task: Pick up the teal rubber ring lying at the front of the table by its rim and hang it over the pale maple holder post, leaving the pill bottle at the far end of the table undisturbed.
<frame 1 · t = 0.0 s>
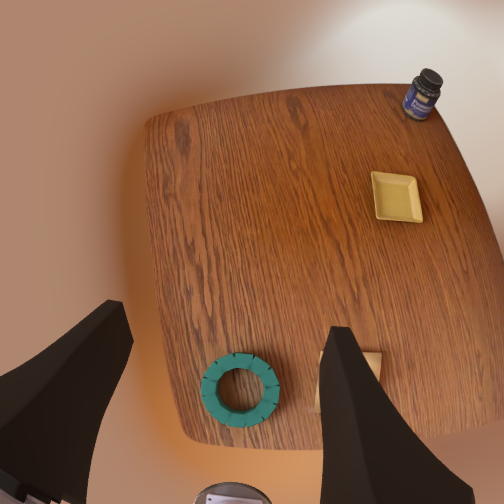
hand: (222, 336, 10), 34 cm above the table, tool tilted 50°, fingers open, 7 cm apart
holder: (347, 382, 41), on the table
pill bottle: (413, 111, 55), on the table
saucer: (392, 202, 49), on the table
ring: (241, 388, 41), on the table
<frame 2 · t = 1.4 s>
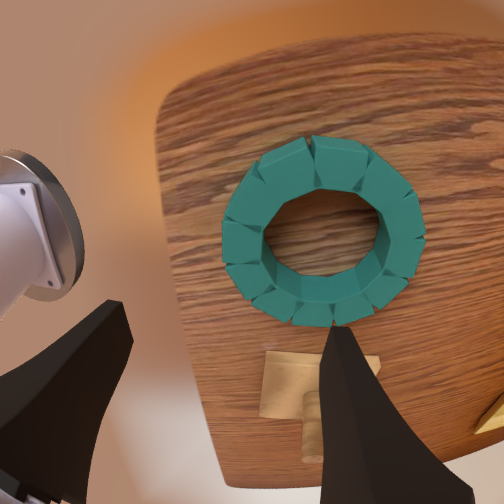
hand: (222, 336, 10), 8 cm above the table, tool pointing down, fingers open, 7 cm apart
holder: (314, 385, 25), on the table
ring: (322, 229, 17), on the table
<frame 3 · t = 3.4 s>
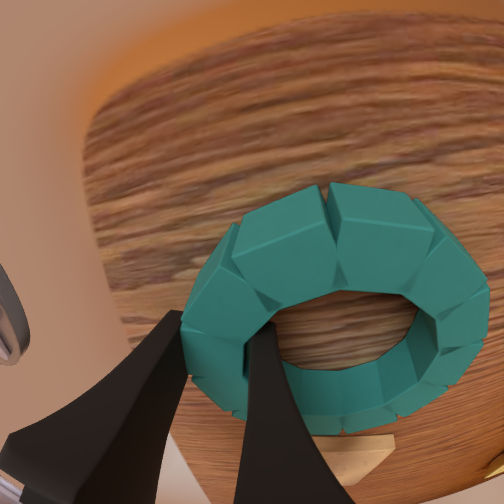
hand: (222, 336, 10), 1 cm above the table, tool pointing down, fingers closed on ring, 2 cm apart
holder: (314, 458, 19), on the table
ring: (337, 318, 11), on the table, touching gripper
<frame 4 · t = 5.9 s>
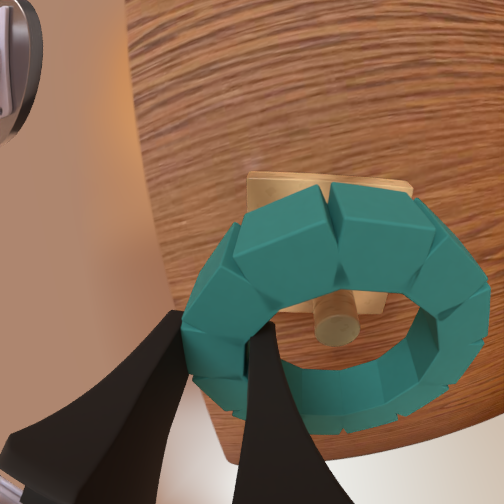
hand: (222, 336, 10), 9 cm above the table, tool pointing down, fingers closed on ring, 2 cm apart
holder: (324, 245, 19), on the table
ring: (337, 318, 11), point 8 cm above the table, touching gripper
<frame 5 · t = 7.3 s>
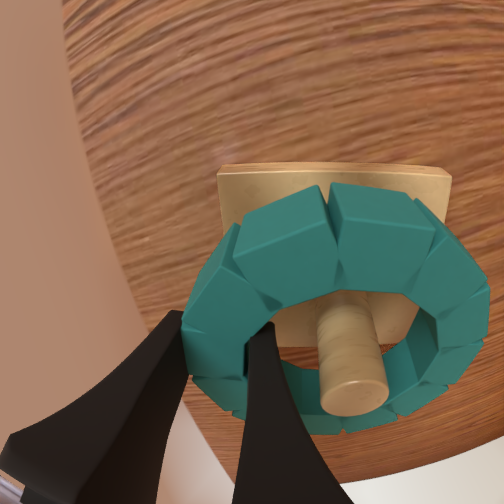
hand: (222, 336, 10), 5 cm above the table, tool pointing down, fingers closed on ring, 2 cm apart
holder: (333, 260, 14), on the table
ring: (337, 318, 11), point 3 cm above the table, touching gripper
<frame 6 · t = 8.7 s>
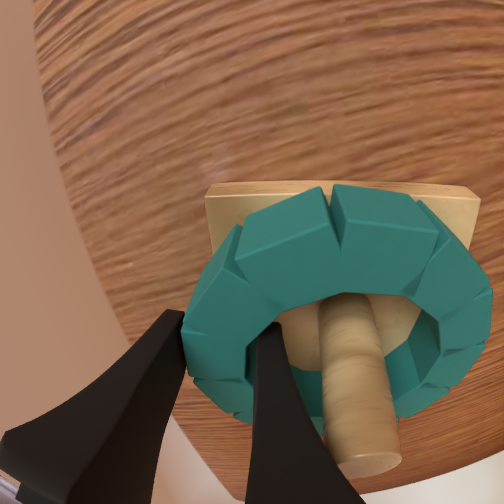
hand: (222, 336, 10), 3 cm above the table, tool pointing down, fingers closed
holder: (340, 290, 12), on the table
ring: (339, 320, 11), point 1 cm above the table, touching holder
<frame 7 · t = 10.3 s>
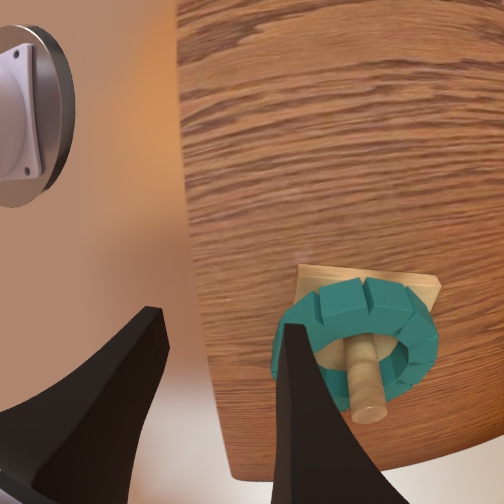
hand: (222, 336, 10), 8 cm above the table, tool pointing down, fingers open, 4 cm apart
holder: (355, 323, 20), on the table
ring: (353, 341, 19), point 1 cm above the table, touching holder
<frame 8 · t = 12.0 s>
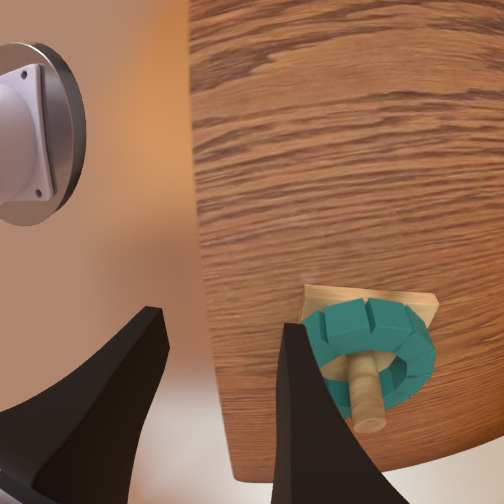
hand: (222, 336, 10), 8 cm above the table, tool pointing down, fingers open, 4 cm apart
holder: (356, 338, 21), on the table
ring: (355, 354, 20), point 1 cm above the table, touching holder
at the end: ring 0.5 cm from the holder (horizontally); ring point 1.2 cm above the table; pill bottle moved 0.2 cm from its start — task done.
